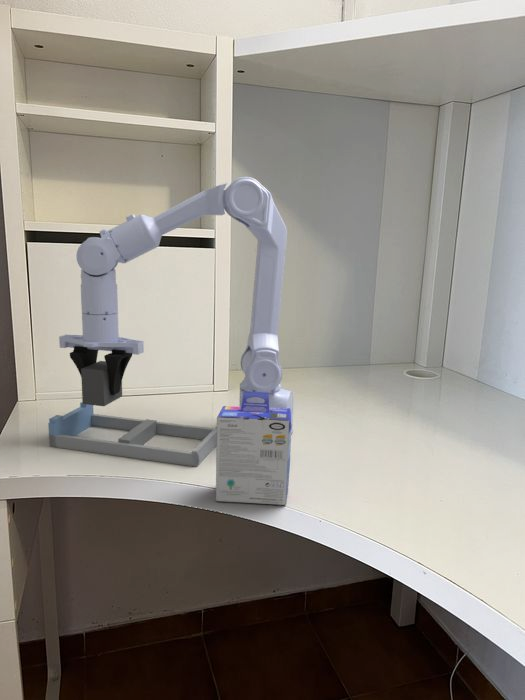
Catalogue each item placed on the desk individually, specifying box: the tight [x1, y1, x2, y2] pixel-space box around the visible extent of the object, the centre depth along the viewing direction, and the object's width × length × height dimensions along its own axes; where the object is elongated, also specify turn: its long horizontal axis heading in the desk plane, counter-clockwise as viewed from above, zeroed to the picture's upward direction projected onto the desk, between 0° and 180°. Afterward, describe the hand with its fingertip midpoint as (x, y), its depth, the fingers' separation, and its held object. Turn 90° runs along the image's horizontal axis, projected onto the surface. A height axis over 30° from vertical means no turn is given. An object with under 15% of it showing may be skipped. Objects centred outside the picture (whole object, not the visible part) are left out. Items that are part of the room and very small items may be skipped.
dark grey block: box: [80, 360, 123, 407], centre depth 93 cm, size 4×6×6 cm, turn 166°
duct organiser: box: [48, 401, 217, 468], centre depth 93 cm, size 26×12×5 cm, turn 75°
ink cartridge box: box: [215, 391, 292, 506], centre depth 75 cm, size 10×6×14 cm, turn 86°
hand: (102, 391), depth 93 cm, fingers closed on dark grey block, 4 cm apart
